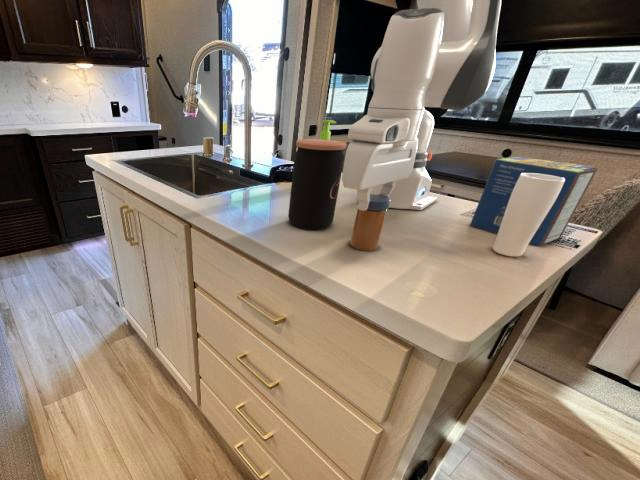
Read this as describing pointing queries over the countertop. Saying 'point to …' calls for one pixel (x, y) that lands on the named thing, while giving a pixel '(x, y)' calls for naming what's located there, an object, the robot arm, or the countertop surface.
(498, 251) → the drinking glass
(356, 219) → the jam jar
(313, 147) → the coffee jar
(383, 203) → the jam lid
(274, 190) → the countertop surface
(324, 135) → the soap dispenser
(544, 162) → the protein box
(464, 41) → the robot arm
